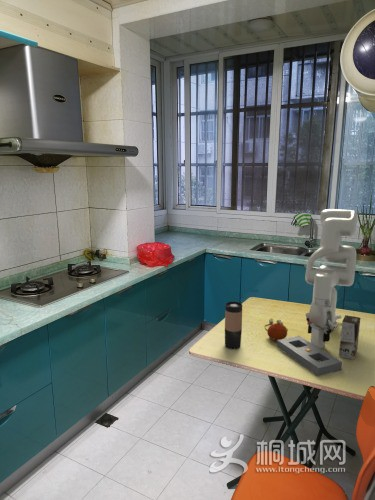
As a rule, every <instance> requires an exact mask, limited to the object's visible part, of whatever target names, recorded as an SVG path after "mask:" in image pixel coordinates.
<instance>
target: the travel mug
mask: <svg viewBox="0 0 375 500" xmlns="http://www.w3.org/2000/svg"><path fill="white" fill-rule="evenodd" d="M224 311H225V313H224V315H225V316H224V346H225V348H226V349H229V350H239V349H240V348H241V347H242V346H241V343H242V334H243V333H242V330H243V329H242V328H243V304H242V303H241V302H238V301H228V302H226V303H225V309H224Z"/></svg>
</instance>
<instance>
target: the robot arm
mask: <svg viewBox="0 0 375 500" xmlns="http://www.w3.org/2000/svg"><path fill="white" fill-rule="evenodd" d="M319 216H320V225H321V235H320V241H319V247H318V249H316V250H315V251H314V252H313V253H311V255H310V257H309V258H308V260H307V264H306V267H305V268H306V269H305V277H304V278H305V282H306V284H309V285H313V290H312V302H311V304H310V306H309V307H310V308H309V312H305V318H306V321H307V325H308V326H307V333H308V334H311V332H312V327H311V326H310V324H311V323H313V324H315V325H317V326H319V327H321V328H323V330H324V332H325V333H324V334H323V342H325V343H326V342H327V343H328V342H330V340H331V339H330V338H331V334H332V333H333V332H334V330H335V328H338V322H337V320H340V319H342V315H340V314H337V315H336V312H337V311H336V309H337V300H338V298H337V297H338V291H337V289H336V288H335V286H345V287H351V286H352V285H353V284H354V281H355V274H356V264H357V250H356V248H355V246H352V245H344V244H342V242H343V241H342V240H343V237H353V236H354V235H355V233H356V232H357V231H356V230H357V227H358V226H357V224H358V220H359V217H358V216H359V215H358V212H357V211H356V210H354V209H340V208H339V209H338V208H327V209H322V211H320V215H319ZM321 258H322V260H323V261H324V262H325V263H329V264H322V265H320V266H319V267H318V268H314V265H315V263H316V261H318V260H319V259H321ZM331 263H333V264H340V266H339V265H332V264H331ZM341 265H344V266H341ZM326 328H327V329H326Z"/></svg>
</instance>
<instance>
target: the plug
mask: <svg viewBox="0 0 375 500" xmlns="http://www.w3.org/2000/svg"><path fill="white" fill-rule="evenodd" d="M310 326H311V327H312V332H311V333H310V334H311V335H310V343H312V344H314V345H315V346H317V347H319V348H320V349H324V348H325V347H326V342H323V334H324V333H325V332H324V330H323V328H321V327H319V326H317V325H315V324H313V323H311V324H310ZM326 330H328V329H327V328H326Z"/></svg>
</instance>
